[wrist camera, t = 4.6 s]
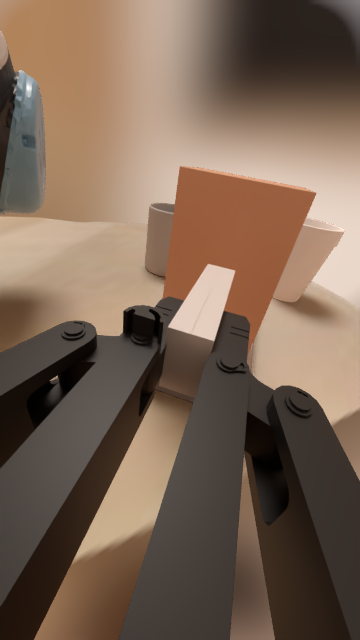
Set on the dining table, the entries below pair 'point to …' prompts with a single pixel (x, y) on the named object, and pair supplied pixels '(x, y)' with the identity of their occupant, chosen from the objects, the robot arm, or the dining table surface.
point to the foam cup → (307, 258)
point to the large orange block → (234, 236)
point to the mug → (159, 237)
